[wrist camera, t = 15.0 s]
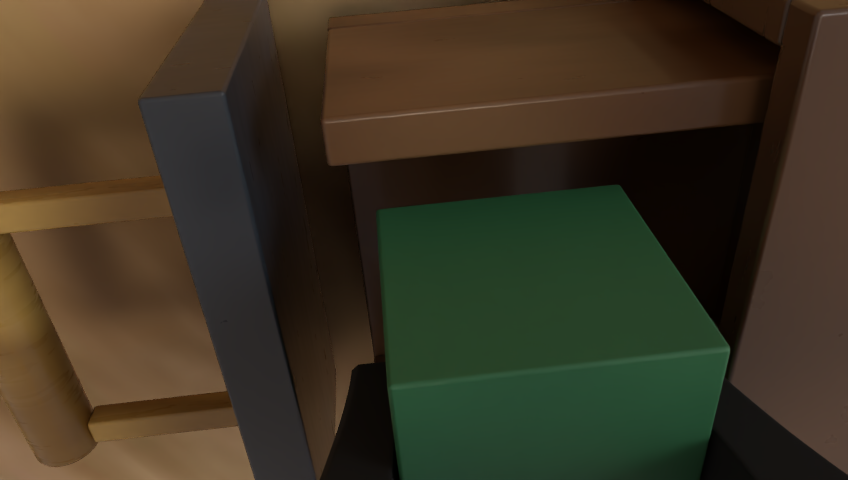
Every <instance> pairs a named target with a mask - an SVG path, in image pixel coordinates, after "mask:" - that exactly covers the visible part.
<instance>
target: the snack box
mask: <svg viewBox="0 0 848 480" xmlns="http://www.w3.org/2000/svg"><path fill="white" fill-rule="evenodd" d="M376 224H377V239H378V254H379V269H380V285H381V300H382V315H383V331H384V346H385V361H386V376H387V390H388V397H389V405H390V412H391V420H392V427H393V435H394V442H395V450H396V457H397V465H398V472H399V480H700V477H701V473H702V468H703V464H704V460H705V456H706V452H707V447H708V443H709V439H710V435H711V431H712V426H713V422H714V418H715V414H716V410H717V405H718V401H719V397H720V393H721V389H722V384H723V380H724V376H725V372H726V368H727V363H728V359H729V355H730V347H729V345H728V343H727V342H726V340H725V339H724V337H723V336H722V334H721V333H720V332H719V330H718V329H717V327H716V326H715V324H714V323H713V321H712V320H711V318H710V317H709V315H708V314H707V312H706V311H705V310H704V308H703V307H702V305H701V304H700V302H699V301H698V299H697V298H696V296H695V295H694V293H693V292H692V290H691V289H690V288H689V286H688V285H687V283H686V282H685V280H684V279H683V277H682V276H681V274H680V273H679V271H678V270H677V268H676V267H675V266H674V264H673V263H672V261H671V260H670V258H669V257H668V255H667V254H666V252H665V251H664V249H663V248H662V246H661V245H660V244H659V242H658V241H657V239H656V238H655V236H654V235H653V233H652V232H651V230H650V229H649V227H648V226H647V224H646V223H645V222H644V220H643V219H642V217H641V216H640V214H639V213H638V211H637V210H636V208H635V207H634V205H633V204H632V202H631V201H630V200H629V198H628V197H627V195H626V194H625V192H624V191H623V189H622V188H621V186H620V185H607V186H597V187H588V188H578V189H568V190H559V191H549V192H540V193H530V194H520V195H511V196H501V197H492V198H482V199H472V200H463V201H453V202H443V203H434V204H424V205H415V206H405V207H395V208H386V209H379V210H377V212H376Z"/></svg>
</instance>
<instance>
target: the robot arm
mask: <svg viewBox="0 0 848 480" xmlns="http://www.w3.org/2000/svg"><path fill="white" fill-rule="evenodd" d="M320 480H399V472H398V465H397V457H396V450H395V442H394V435H393V427H392V420H391V412H390V405H389V397H388V390H387V376H386V362H378V363H369V364H360V365H357V366H356V367H355V368H354V369H353V370H352V374H351V381H350V386H349V390H348V395H347V399H346V403H345V407H344V410H343V414H342V417H341V420H340V424H339V427H338V430H337V433H336V436H335V439H334V442H333V444H332V447H331V450H330V453H329V456H328V458H327V461H326V464H325V467H324V469H323V472H322V475H321V477H320ZM700 480H848V475H847V474H846V473H844V472H843V471H842V470H840V469H839V468H837V467H836V466H835V465H833V464H832V463H831V462H829V461H828V460H827V459H825V458H824V457H823V456H821V455H820V454H819V453H817V452H816V451H814V450H813V449H812V448H810V447H809V446H808V445H806V444H805V443H804V442H802V441H801V440H800V439H798V438H797V437H796V436H795V435H793V434H792V433H791V432H789V431H788V430H787V429H786V428H784V427H783V426H782V425H781V424H779V423H778V422H777V421H776V420H775V419H773V418H772V417H771V416H770V415H769V414H767V413H766V412H765V411H764V410H762V409H761V408H760V407H759V406H758V405H756V404H755V403H754V402H753V401H751V400H750V399H749V398H748V397H747V396H746V395H744V394H743V393H742V392H741V391H740V390H738V389H737V388H736V387H735V386H734V385H733V384H732V383H730V382H729V381H728V380H727V379H726V378H725V377H724V380H723V384H722V389H721V393H720V397H719V401H718V405H717V410H716V414H715V418H714V422H713V426H712V431H711V435H710V439H709V443H708V447H707V452H706V456H705V460H704V464H703V468H702V473H701V477H700Z"/></svg>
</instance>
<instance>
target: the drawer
mask: <svg viewBox="0 0 848 480" xmlns="http://www.w3.org/2000/svg"><path fill="white" fill-rule="evenodd" d="M780 47H781V46H778V45H776V44H774V43H772V42H771V41H769V40H767V39H766V38H764V37H762V36H761V35H759V34H757V33H756V32H754V31H752V30H751V29H749V28H747V27H746V26H744V25H742V24H741V23H739V22H737V21H736V20H734V19H732V18H731V17H729V16H727V15H726V14H724V13H722V12H721V11H719V10H717V9H716V8H714V7H712V6H711V5H709V4H707V3H706V2H704V1H702V0H515V1H504V2H493V3H482V4H472V5H461V6H450V7H439V8H428V9H418V10H407V11H396V12H385V13H374V14H364V15H353V16H342V17H331V18H329V21H328V37H327V49H326V61H325V74H324V86H323V98H322V110H321V129H322V135H323V141H324V147H325V154H326V160H327V163H328V164H329V165H330V166H339V165H347V169H348V176H349V183H350V190H351V197H352V204H353V211H354V218H355V225H356V232H357V239H358V246H359V253H360V260H361V267H362V274H363V281H364V288H365V295H366V302H367V309H368V316H369V323H370V330H371V337H372V344H373V351H374V363H378V362H386V361H385V346H384V331H383V315H382V300H381V285H380V269H379V254H378V239H377V224H376V212H377V210H379V209H386V208H395V207H405V206H415V205H424V204H434V203H443V202H453V201H463V200H472V199H482V198H492V197H501V196H511V195H520V194H530V193H540V192H549V191H559V190H568V189H578V188H588V187H597V186H607V185H620V186H621V188H622V189H623V191H624V192H625V194H626V195H627V197H628V198H629V200H630V201H631V202H632V204H633V205H634V207H635V208H636V210H637V211H638V213H639V214H640V216H641V217H642V219H643V220H644V222H645V223H646V224H647V226H648V227H649V229H650V230H651V232H652V233H653V235H654V236H655V238H656V239H657V241H658V242H659V244H660V245H661V246H662V248H663V249H664V251H665V252H666V254H667V255H668V257H669V258H670V260H671V261H672V263H673V264H674V266H675V267H676V268H677V270H678V271H679V273H680V274H681V276H682V277H683V279H684V280H685V282H686V283H687V285H688V286H689V288H690V289H691V290H692V292H693V293H694V295H695V296H696V298H697V299H698V301H699V302H700V304H701V305H702V307H703V308H704V310H705V311H706V312H707V314H708V315H709V317H710V318H711V320H712V321H713V323H714V324H715V326H716V327H717V329H718V330H719V325H720V321H721V316H722V312H723V307H724V302H725V298H726V293H727V289H728V284H729V280H730V275H731V271H732V266H733V261H734V257H735V252H736V248H737V243H738V239H739V234H740V230H741V225H742V220H743V216H744V211H745V207H746V202H747V198H748V193H749V189H750V184H751V179H752V175H753V170H754V166H755V161H756V157H757V152H758V148H759V143H760V138H761V134H762V129H763V125H764V120H765V116H766V111H767V107H768V102H769V97H770V93H771V88H772V84H773V79H774V75H775V70H776V66H777V61H778V56H779V52H780ZM138 105H139V108H140V112H141V115H142V118H143V121H144V124H145V128H146V131H147V134H148V137H149V140H150V144H151V147H152V150H153V153H154V157H155V160H156V163H157V166H158V169H159V173H160V175H159V176H149V177H139V178H129V179H119V180H110V181H100V182H90V183H80V184H70V185H60V186H50V187H40V188H30V189H20V190H10V191H0V395H1V396H2V398H3V400H4V402H5V403H6V405H7V407H8V409H9V410H10V412H11V414H12V416H13V418H14V419H15V421H16V423H17V425H18V426H19V428H20V430H21V432H22V433H23V435H24V437H25V439H26V441H27V442H28V444H29V446H30V448H31V449H32V451H33V453H34V455H35V456H36V458H37V460H38V461H39V462H40V463H42V464H44V465H46V466H50V467H60V466H65V465H69V464H72V463H74V462H76V461H78V460H80V459H82V458H83V457H85V456H86V455H87V454H89V453H90V452H91V451H92V450H93V449H94V448H95V446H96V445H97V444H98V442H103V441H112V440H120V439H129V438H138V437H146V436H155V435H163V434H172V433H181V432H189V431H198V430H207V429H215V428H224V427H233V426H239V430H240V433H241V436H242V439H243V443H244V446H245V449H246V452H247V455H248V459H249V462H250V465H251V468H252V471H253V475H254V478H255V480H320V477H321V475H322V472H323V469H324V467H325V464H326V461H327V458H328V456H329V453H330V450H331V447H332V444H333V442H334V439H335V407H336V367H335V362H334V356H333V351H332V345H331V340H330V335H329V329H328V324H327V319H326V313H325V308H324V302H323V297H322V292H321V286H320V281H319V276H318V270H317V265H316V259H315V254H314V249H313V243H312V238H311V233H310V227H309V222H308V216H307V211H306V206H305V200H304V195H303V190H302V184H301V179H300V174H299V168H298V163H297V157H296V152H295V147H294V141H293V136H292V131H291V125H290V120H289V114H288V109H287V104H286V98H285V93H284V88H283V82H282V77H281V71H280V66H279V61H278V55H277V50H276V45H275V39H274V34H273V28H272V23H271V18H270V12H269V7H268V2H267V0H205V1H204V2H203V4H202V5H201V7H200V8H199V10H198V11H197V13H196V14H195V16H194V17H193V19H192V20H191V22H190V23H189V24H188V26H187V27H186V29H185V30H184V32H183V33H182V35H181V36H180V38H179V39H178V41H177V42H176V44H175V45H174V47H173V48H172V50H171V51H170V53H169V54H168V56H167V57H166V59H165V60H164V62H163V63H162V65H161V66H160V68H159V69H158V71H157V72H156V74H155V75H154V77H153V78H152V79H151V81H150V82H149V84H148V85H147V87H146V88H145V90H144V91H143V93H142V94H141V96H140V97H139V99H138ZM171 216H173V218H174V221H175V224H176V227H177V230H178V234H179V237H180V240H181V243H182V247H183V250H184V253H185V256H186V259H187V263H188V266H189V269H190V272H191V275H192V279H193V282H194V285H195V288H196V292H197V295H198V298H199V301H200V304H201V308H202V311H203V314H204V317H205V320H206V324H207V327H208V330H209V333H210V337H211V340H212V343H213V346H214V349H215V353H216V356H217V359H218V362H219V365H220V369H221V372H222V375H223V378H224V381H225V385H226V388H227V391H224V392H215V393H206V394H197V395H188V396H179V397H171V398H162V399H153V400H144V401H135V402H127V403H118V404H109V405H100V406H96V407H95V408H94V410H93V408H92V406H91V404H90V402H89V400H88V397H87V395H86V393H85V391H84V389H83V387H82V385H81V383H80V380H79V378H78V376H77V374H76V372H75V370H74V368H73V366H72V363H71V361H70V359H69V357H68V355H67V353H66V351H65V349H64V346H63V344H62V342H61V340H60V338H59V336H58V334H57V332H56V329H55V327H54V325H53V323H52V321H51V319H50V317H49V315H48V312H47V310H46V308H45V306H44V304H43V302H42V300H41V297H40V295H39V293H38V291H37V289H36V287H35V285H34V283H33V280H32V278H31V276H30V274H29V272H28V270H27V268H26V266H25V263H24V261H23V259H22V257H21V255H20V253H19V251H18V249H17V246H16V244H15V242H14V240H13V238H12V236H11V234H10V233H16V232H25V231H35V230H45V229H55V228H64V227H74V226H84V225H93V224H103V223H113V222H122V221H132V220H142V219H151V218H161V217H171Z"/></svg>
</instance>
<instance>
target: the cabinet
mask: <svg viewBox="0 0 848 480" xmlns="http://www.w3.org/2000/svg"><path fill="white" fill-rule="evenodd" d="M702 1H704V2H706V3H707V4H709V5H711V6H712V7H714V8H716V9H717V10H719V11H721V12H722V13H724V14H726V15H727V16H729V17H731V18H732V19H734V20H736V21H737V22H739V23H741V24H742V25H744V26H746V27H747V28H749V29H751V30H752V31H754V32H756V33H757V34H759V35H761V36H762V37H764V38H766V39H767V40H769V41H771V42H772V43H774V44H776V45H778V46H781V47H780V52H779V56H778V61H777V66H776V70H775V75H774V79H773V84H772V88H771V93H770V97H769V102H768V107H767V111H766V116H765V120H764V125H763V129H762V134H761V138H760V143H759V148H758V152H757V157H756V161H755V166H754V170H753V175H752V179H751V184H750V189H749V193H748V198H747V202H746V207H745V211H744V216H743V220H742V225H741V230H740V234H739V239H738V243H737V248H736V252H735V257H734V261H733V266H732V271H731V275H730V280H729V284H728V289H727V293H726V298H725V302H724V307H723V312H722V316H721V321H720V325H719V332H720V333H721V334H722V336H723V337H724V339H725V340H726V342H727V343H728V345H729V347H730V355H729V359H728V363H727V368H726V372H725V376H724V377H725V378H726V379H727V380H728V381H729V382H730V383H732V384H733V385H734V386H735V387H736V388H737V389H738V390H740V391H741V392H742V393H743V394H744V395H746V396H747V397H748V398H749V399H750V400H751V401H753V402H754V403H755V404H756V405H758V406H759V407H760V408H761V409H762V410H764V411H765V412H766V413H767V414H769V415H770V416H771V417H772V418H773V419H775V420H776V421H777V422H778V423H779V424H781V425H782V426H783V427H784V428H786V429H787V430H788V431H789V432H791V433H792V434H793V435H795V436H796V437H797V438H798V439H800V440H801V441H802V442H804V443H805V444H806V445H808V446H809V447H810V448H812V449H813V450H814V451H816V452H817V453H819V454H820V455H821V456H823V457H824V458H825V459H827V460H828V461H829V462H831V463H832V464H833V465H835V466H836V467H837V468H839V469H840V470H842V471H843V472H844V473H846V474H847V475H848V0H702Z"/></svg>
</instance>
